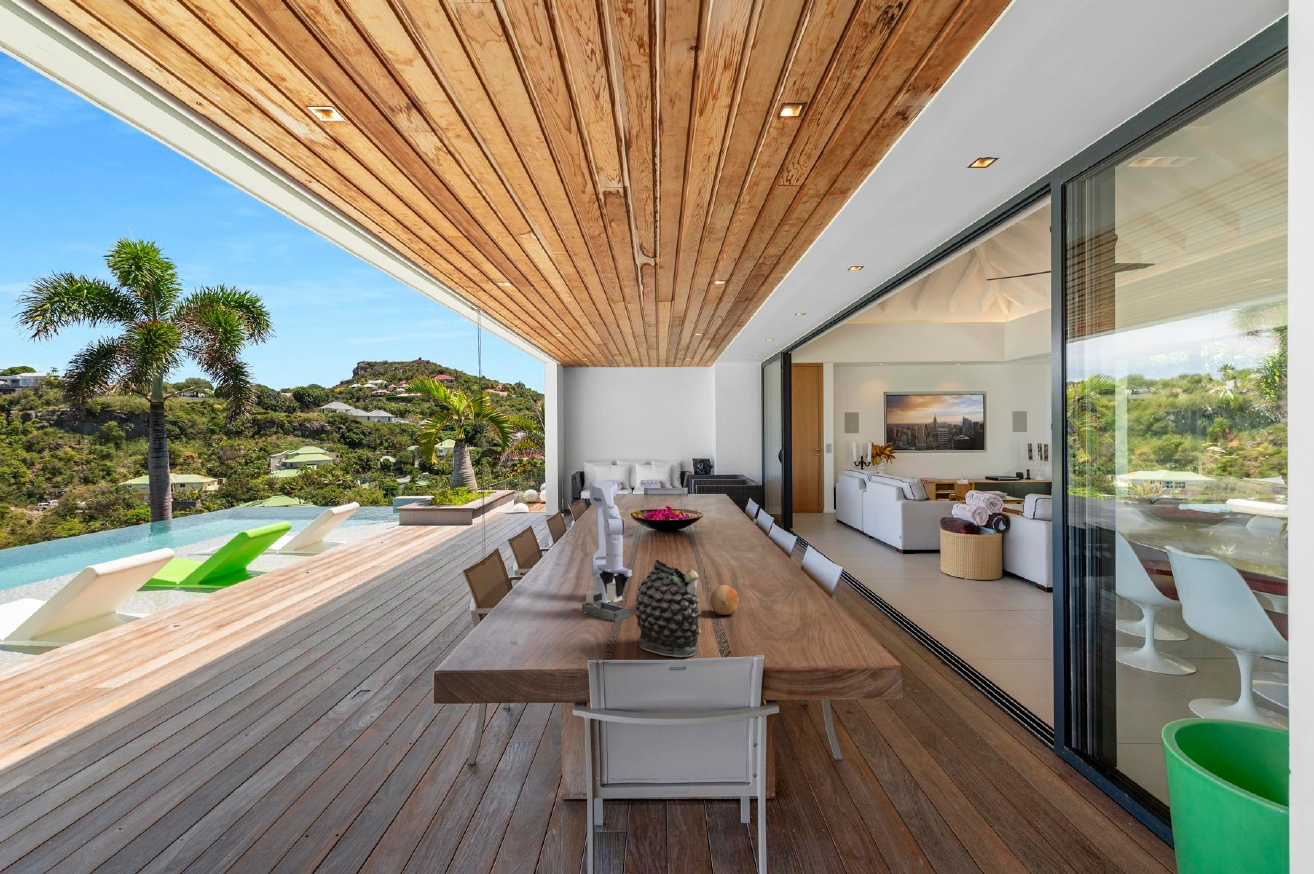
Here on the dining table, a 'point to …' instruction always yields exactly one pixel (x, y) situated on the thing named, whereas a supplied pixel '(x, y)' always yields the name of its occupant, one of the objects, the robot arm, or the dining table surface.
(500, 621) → the dining table surface
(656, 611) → the scaly pinecone figurine
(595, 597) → the rail
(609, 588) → the cream rectangular block
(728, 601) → the onion
